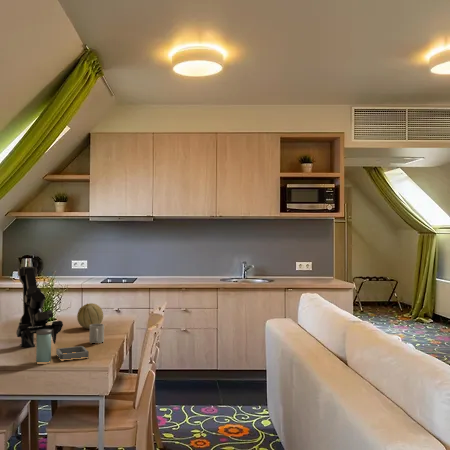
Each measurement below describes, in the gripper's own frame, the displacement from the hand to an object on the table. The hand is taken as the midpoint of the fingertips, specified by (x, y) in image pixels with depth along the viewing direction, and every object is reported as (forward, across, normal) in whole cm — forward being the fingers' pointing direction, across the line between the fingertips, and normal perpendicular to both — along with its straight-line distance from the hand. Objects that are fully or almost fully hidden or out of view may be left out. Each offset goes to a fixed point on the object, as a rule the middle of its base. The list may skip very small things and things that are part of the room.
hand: (44, 344), depth 209 cm
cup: (-10, +33, +22) cm, 41 cm away
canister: (+5, 0, +6) cm, 8 cm away
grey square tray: (+3, +14, +8) cm, 16 cm away
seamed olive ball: (-36, +45, +48) cm, 74 cm away
